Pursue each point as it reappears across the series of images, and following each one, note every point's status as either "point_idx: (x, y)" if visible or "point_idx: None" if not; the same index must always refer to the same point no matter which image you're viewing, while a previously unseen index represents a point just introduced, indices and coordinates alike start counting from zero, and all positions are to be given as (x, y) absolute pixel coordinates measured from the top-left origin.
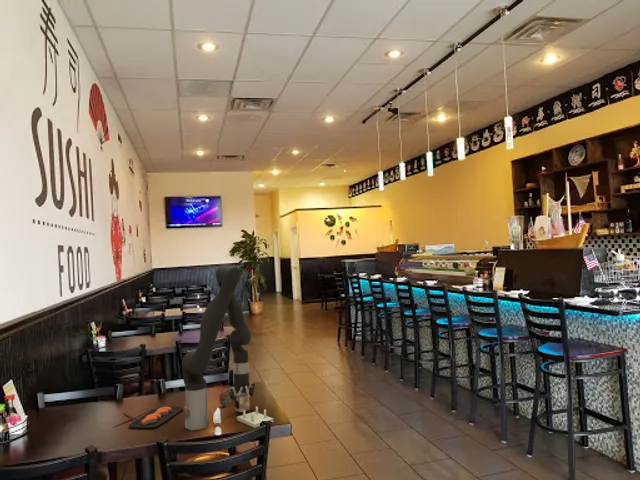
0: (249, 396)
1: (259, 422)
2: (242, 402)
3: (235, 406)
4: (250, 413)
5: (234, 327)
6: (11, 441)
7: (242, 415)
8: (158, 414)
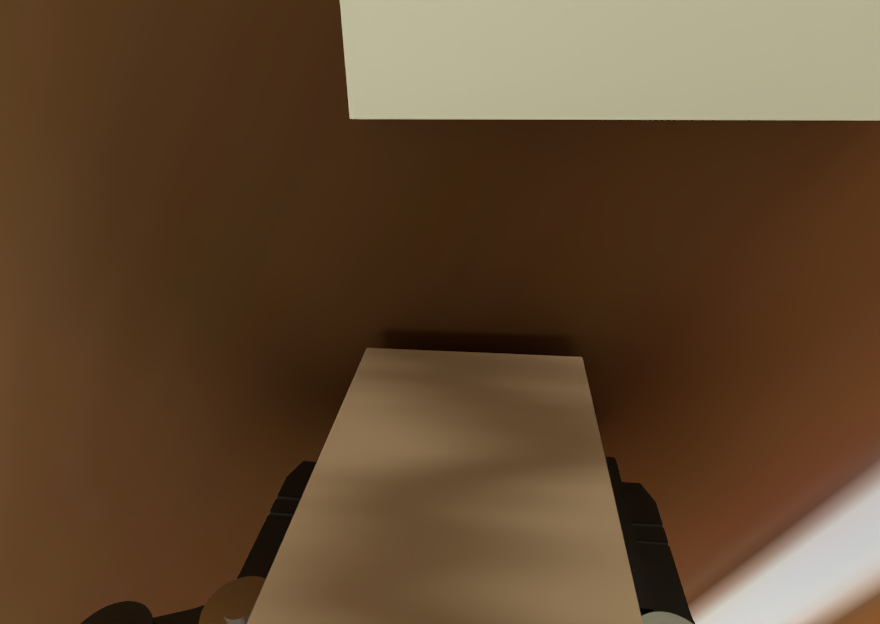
0: (224, 615)
1: None
2: (537, 501)
3: (652, 523)
4: (520, 70)
5: None
6: None
7: (764, 91)
8: None
